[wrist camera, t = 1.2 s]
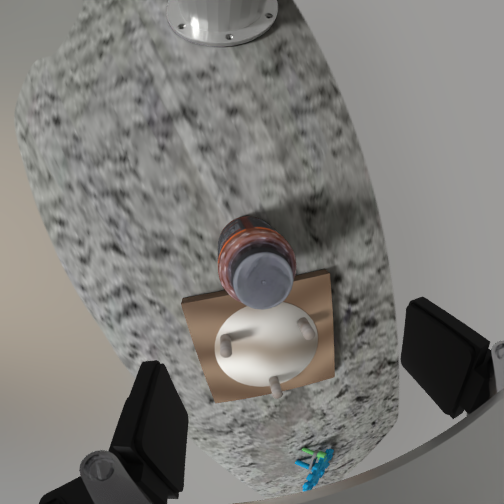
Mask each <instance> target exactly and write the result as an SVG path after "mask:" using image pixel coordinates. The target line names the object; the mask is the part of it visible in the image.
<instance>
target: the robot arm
mask: <svg viewBox="0 0 504 504" xmlns="http://www.w3.org/2000/svg"><path fill="white" fill-rule="evenodd" d="M277 13H278V2H277V0H169V2H168V5H167V10H166V15H167V19H168V22H169V24H170V27H171V28H172V29H173V30H174V32H175V33H176V34H178V35H179V36H180V37H182V38H183V39H185V40H187V41H189V42H192V43H196V44H199V45H205V46H213V47H224V46H234V45H238V44H243V43H246V42H249V41H251V40H254V39H256V38H257V37H259V36H261V35H263V34H264V33H265V32H266V31H267V30H269V28H270V27H271V26H272V25H273V23H274V21H275V19H276V16H277ZM228 39H231V40H228ZM489 344H490V341H488V340H487V339H486V338H484V337H483V336H481V335H480V334H478V333H477V332H476V331H474V330H473V329H471V328H470V327H468V326H467V325H465V324H464V323H462V322H461V321H460V320H458V319H456V318H455V317H454V316H452V315H451V314H449V313H447V312H446V311H445V310H443V309H441V308H440V307H438V306H437V305H435V304H434V303H432V302H431V301H429V300H428V299H426V298H424V297H420V298H417V299H415V300H412V301H410V303H409V305H408V306H407V308H406V319H405V328H404V337H403V345H402V352H401V364H402V366H403V367H404V368H405V369H406V370H407V371H408V373H409V374H410V375H411V376H412V377H413V378H414V379H415V380H416V381H417V382H418V384H419V385H420V386H421V387H422V388H423V389H424V390H425V391H426V393H427V394H428V395H429V396H430V397H431V398H432V399H433V400H434V402H435V403H436V404H437V405H438V406H439V407H440V409H441V410H442V411H443V412H444V413H445V414H447V415H450V416H451V417H452V418H453V419H454V418H456V417H457V416H459V415H460V414H462V413H463V411H464V410H465V411H466V412H467V417H465V418H464V419H463V420H461V421H460V422H458V423H457V424H455V425H454V426H452V427H451V428H449V429H448V430H447V431H445V432H443V433H441V434H440V435H438V436H437V437H435V438H433V439H432V440H430V441H428V442H426V443H425V444H423V445H421V446H419V447H417V448H416V449H414V450H412V451H410V452H408V453H406V454H404V455H402V456H400V457H398V458H396V459H394V460H392V461H389V462H387V463H385V464H383V465H381V466H378V467H376V468H374V469H371V470H369V471H366V472H364V473H361V474H359V475H356V476H353V477H351V478H348V479H345V480H342V481H339V482H336V483H332V484H329V485H326V486H322V487H319V488H315V489H312V490H308V491H304V492H300V493H296V494H291V495H287V496H282V497H277V498H271V499H266V500H259V501H252V502H244V503H235V504H504V341H499V342H497V343H495V344H494V345H493V347H492V349H491V350H490V349H488V347H489ZM187 432H188V414H187V411H186V409H185V407H184V405H183V403H182V401H181V399H180V397H179V395H178V393H177V391H176V389H175V387H174V384H173V382H172V380H171V378H170V376H169V373H168V371H167V369H166V367H165V365H164V364H160V362H159V361H157V360H155V361H146V362H142V364H141V366H140V369H139V371H138V374H137V377H136V379H135V382H134V385H133V387H132V390H131V393H130V395H129V397H128V398H127V400H126V402H125V404H124V407H123V410H122V413H121V415H120V418H119V421H118V424H117V427H116V430H115V433H114V436H113V439H112V442H111V445H110V448H109V451H104V450H100V451H95V452H92V453H90V454H88V455H87V456H86V457H85V458H84V459H83V460H82V462H81V464H80V470H79V471H80V475H81V476H80V477H78V478H76V479H74V480H72V481H71V482H69V483H67V484H65V485H63V486H61V487H59V488H57V489H55V490H53V491H51V492H49V493H47V494H46V495H44V496H43V497H42V498H41V500H40V502H39V504H167V499H178V497H179V492H182V491H183V487H184V470H185V455H186V443H187Z"/></svg>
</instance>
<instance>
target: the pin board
mask: <svg viewBox="0 0 504 504" xmlns="http://www.w3.org/2000/svg"><path fill="white" fill-rule="evenodd" d="M181 305H182V309H183V312H184V315H185V318H186V322H187V325H188V328H189V331H190V334H191V337H192V340H193V343H194V346H195V349H196V352H197V355H198V358H199V361H200V364H201V366H202V369H203V372H204V375H205V377H206V380H207V383H208V385H209V388H210V391H211V393H212V396H213V398H214V401H215V403H221V402H228V401H234V400H240V399H246V398H251V397H257V396H262V395H267V394H271V393H272V396H273V397H274V398H280V397H282V395H283V393H282V391H285V390H289V389H293V388H297V387H301V386H305V385H309V384H312V383H316V382H319V381H323V380H326V379H330V378H333V377H335V372H334V332H333V311H332V296H331V282H330V273H329V272H328V271H327V270H325V269H323V270H319V271H314V272H310V273H306V274H301V275H296V276H295V277H294V280H293V286H292V290H291V291H290V293H289V295H288V297H287V298H286V299H285V300H284V301H283V302H282V303H280V304H279V305H277V306H275V307H272V308H269V309H264V310H261V309H254V308H251V307H248V306H246V305H245V304H244V303H241V302H239V301H237V300H235V299H234V298H232V297H231V296H230V295H229V294H228V293H227V291H226V290H224V291H219V292H214V293H208V294H203V295H198V296H192V297H187V298H183V299H182V303H181Z"/></svg>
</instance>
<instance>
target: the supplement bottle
mask: <svg viewBox="0 0 504 504" xmlns="http://www.w3.org/2000/svg"><path fill="white" fill-rule="evenodd" d="M218 273H219V278H220V281H221V284H222V286H223V287H224V289H225V290H226V291H227V293H228V294H229V295H230V296H231V297H232V298H234V299H235V300H237V301H239V302H241V303H244V304H245V305H246V306H248V307H251V308H254V309H261V310H264V309H269V308H272V307H275V306H277V305H279V304H280V303H282V302H283V301H284V300H285V299H286V298H287V297H288V295H289V293H290V291H291V290H292V286H293V280H294V277H295V274H296V258H295V254H294V252H293V250H292V248H291V246H290V245H289V243H288V242H287V241H286V240H285V239H284V238H283V237H282V235H280V234H279V233H278V232H277V231H276V230H275V229H273V228H272V227H271V226H270V225H269V224H268V223H266V222H265V221H263V220H261V219H259V218H257V217H251V216H245V217H240V218H236V219H234V220H233V221H231V222H230V223H229V224H227V225H226V227H225V228H224V229H223V231H222V233H221V235H220V237H219V242H218Z"/></svg>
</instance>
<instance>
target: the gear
mask: <svg viewBox="0 0 504 504" xmlns="http://www.w3.org/2000/svg"><path fill="white" fill-rule="evenodd" d="M302 451H304V452H307V453H309V454H312V459H311V462H310V464H307V463H305V462H302V461H300V460H296V462H295V464H297V465H299V466H301V467H304V468H306V469H308V471H310V472H312V474H309V475H308V476H307V478H306V479H307V480H308V482H305V483H304V485H303V487H302V488H304V489H303V491H308V490H312V488H313V486H315V485H316V484H317V483H318V480H319V478H321V477H322V476H323V474H324V472H325V468H327V467H328V466H329V464H330V463H328V461H329V460H331V459H332V457H333V455H332V454H333V452H334V450H333V449H327V450H326V451H325V453H324V452H322V451H319V450H315V451H312V450H310V449H307V448H305V447H303V449H302ZM317 458H318V460H319V462H318V463H315V462H316V459H317Z"/></svg>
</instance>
